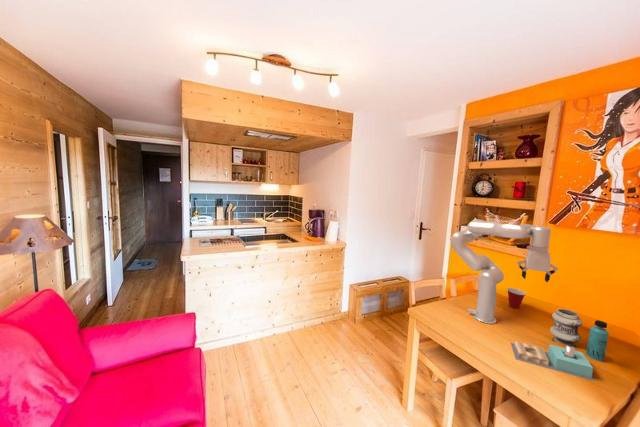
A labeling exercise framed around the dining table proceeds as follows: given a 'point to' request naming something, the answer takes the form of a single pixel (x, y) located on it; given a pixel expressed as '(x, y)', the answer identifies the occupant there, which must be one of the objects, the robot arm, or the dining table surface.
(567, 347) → the steel pin
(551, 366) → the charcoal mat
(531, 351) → the ash mount
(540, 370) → the dining table surface
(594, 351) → the beverage bottle
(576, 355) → the teal dock
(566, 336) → the apothecary jar
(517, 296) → the plastic cup
